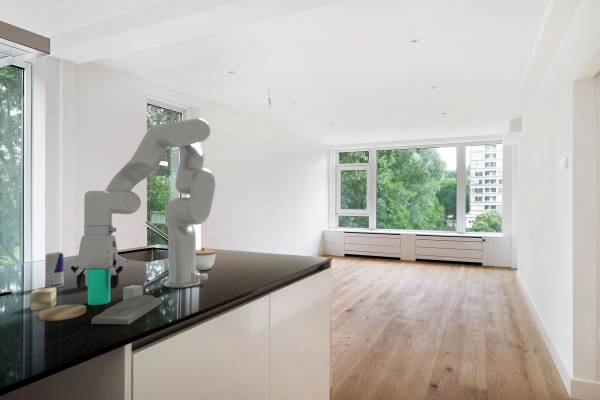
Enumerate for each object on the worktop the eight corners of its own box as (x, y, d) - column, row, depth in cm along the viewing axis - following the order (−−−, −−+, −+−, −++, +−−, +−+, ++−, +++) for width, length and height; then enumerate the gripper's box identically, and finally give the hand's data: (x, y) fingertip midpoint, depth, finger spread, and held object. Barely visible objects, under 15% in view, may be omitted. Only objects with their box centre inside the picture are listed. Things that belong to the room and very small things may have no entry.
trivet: (93, 308, 111) (93, 304, 111) (72, 320, 100) (72, 315, 100) (54, 308, 111) (54, 304, 111) (29, 321, 100) (29, 316, 100)
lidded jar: (192, 266, 177) (192, 246, 177) (216, 266, 178) (216, 245, 178) (188, 271, 167) (188, 249, 166) (214, 270, 168) (213, 249, 168)
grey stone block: (142, 298, 122) (142, 285, 122) (133, 301, 119) (133, 288, 119) (132, 297, 124) (132, 284, 124) (123, 300, 120) (123, 287, 120)
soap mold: (89, 325, 98) (89, 312, 98) (130, 304, 118) (130, 292, 118) (128, 326, 97) (128, 312, 97) (163, 304, 117) (163, 293, 117)
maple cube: (56, 304, 116) (56, 287, 116) (51, 308, 112) (50, 291, 112) (37, 305, 115) (36, 288, 115) (30, 310, 110) (30, 292, 110)
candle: (95, 306, 114) (94, 265, 113) (83, 303, 117) (83, 263, 117) (114, 301, 119) (113, 262, 119) (103, 298, 122) (102, 260, 122)
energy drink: (67, 285, 140) (66, 252, 140) (52, 289, 135) (51, 254, 135) (57, 284, 142) (57, 251, 142) (42, 287, 137) (42, 253, 137)
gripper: (132, 230, 122) (131, 285, 121) (75, 230, 121) (75, 285, 121) (121, 232, 114) (121, 290, 114) (61, 232, 113) (61, 290, 113)
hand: (97, 287), depth 117 cm, fingers open, 9 cm apart
